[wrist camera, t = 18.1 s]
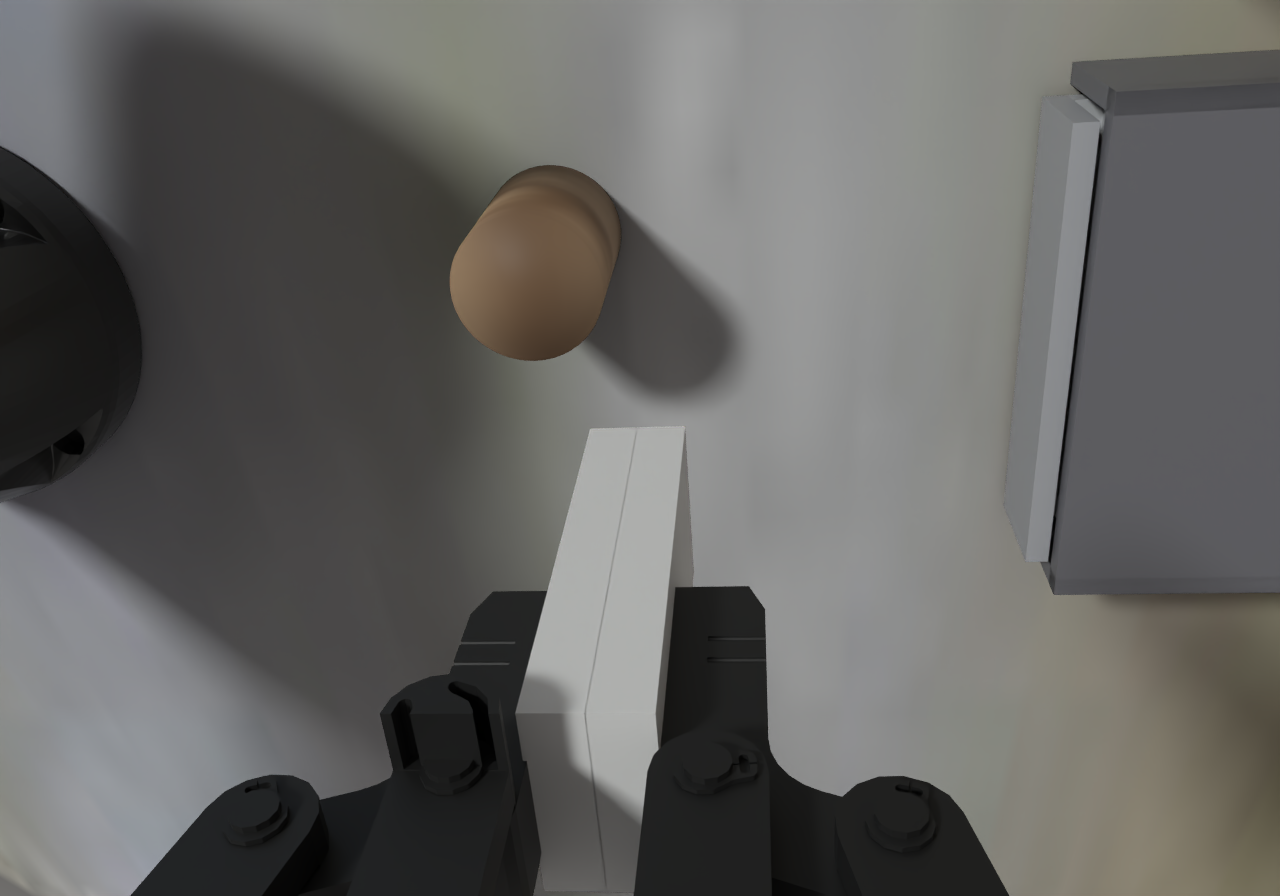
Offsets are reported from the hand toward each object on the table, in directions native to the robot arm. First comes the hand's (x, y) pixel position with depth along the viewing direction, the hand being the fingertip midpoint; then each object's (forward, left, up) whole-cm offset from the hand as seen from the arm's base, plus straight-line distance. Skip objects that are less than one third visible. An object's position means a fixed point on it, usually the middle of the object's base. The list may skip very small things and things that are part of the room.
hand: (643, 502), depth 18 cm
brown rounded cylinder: (-6, -3, -24) cm, 25 cm away
